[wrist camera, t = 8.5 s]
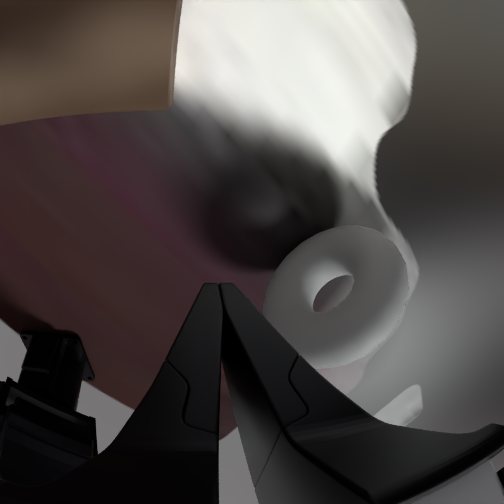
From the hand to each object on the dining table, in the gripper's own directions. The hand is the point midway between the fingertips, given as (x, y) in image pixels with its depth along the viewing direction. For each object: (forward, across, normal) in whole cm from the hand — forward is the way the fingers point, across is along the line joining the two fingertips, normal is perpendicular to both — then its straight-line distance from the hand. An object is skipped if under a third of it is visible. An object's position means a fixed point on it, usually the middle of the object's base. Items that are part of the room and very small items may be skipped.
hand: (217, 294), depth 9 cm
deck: (+12, +9, -10) cm, 18 cm away
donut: (+12, -8, +6) cm, 16 cm away
